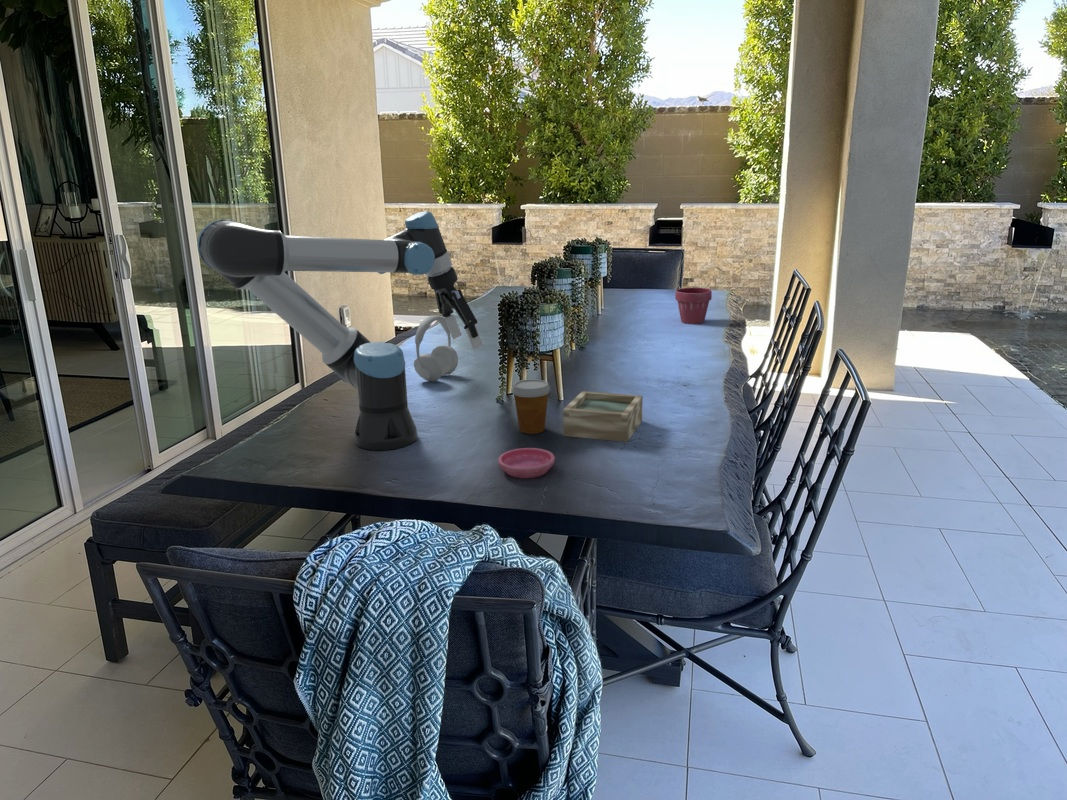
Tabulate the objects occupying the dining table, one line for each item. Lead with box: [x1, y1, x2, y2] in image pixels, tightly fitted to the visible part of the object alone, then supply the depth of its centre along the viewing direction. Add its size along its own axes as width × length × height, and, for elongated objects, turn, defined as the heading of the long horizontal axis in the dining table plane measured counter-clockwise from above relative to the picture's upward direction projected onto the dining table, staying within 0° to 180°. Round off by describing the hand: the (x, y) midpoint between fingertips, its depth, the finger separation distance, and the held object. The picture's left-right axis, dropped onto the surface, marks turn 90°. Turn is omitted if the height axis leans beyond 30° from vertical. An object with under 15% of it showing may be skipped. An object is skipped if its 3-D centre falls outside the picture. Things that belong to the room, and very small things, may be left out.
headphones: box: [413, 314, 459, 383], centre depth 246 cm, size 19×9×20 cm, turn 154°
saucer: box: [497, 447, 556, 479], centre depth 176 cm, size 12×12×3 cm
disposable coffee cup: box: [511, 378, 551, 435], centre depth 200 cm, size 10×10×12 cm
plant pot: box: [674, 287, 713, 325], centre depth 318 cm, size 14×14×13 cm
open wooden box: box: [562, 390, 643, 443], centre depth 200 cm, size 16×16×7 cm
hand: (467, 342), depth 218 cm, fingers open, 13 cm apart
